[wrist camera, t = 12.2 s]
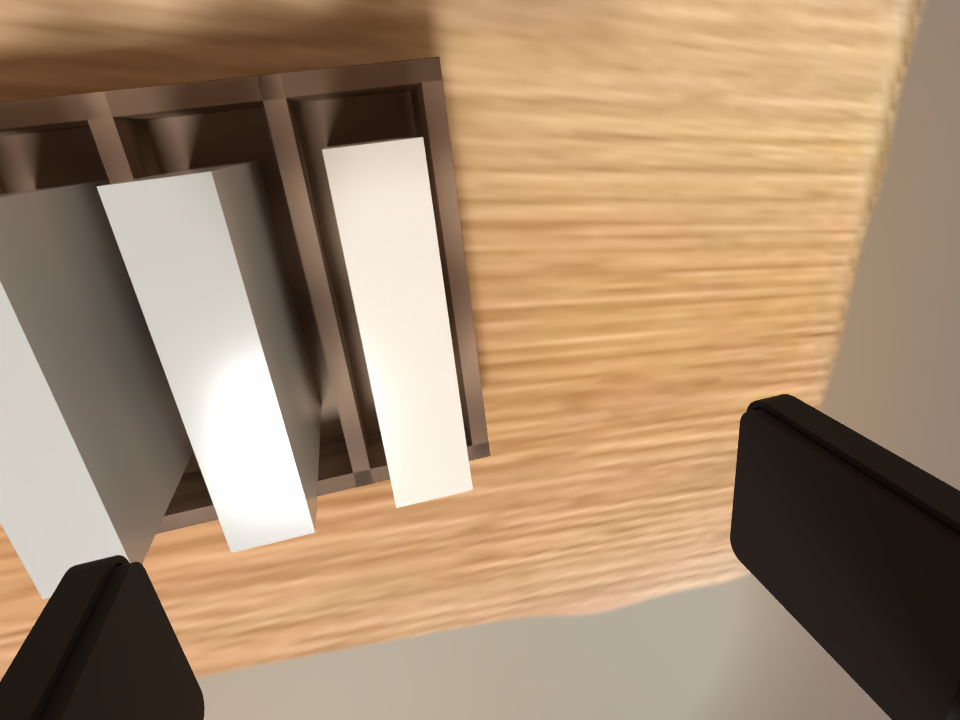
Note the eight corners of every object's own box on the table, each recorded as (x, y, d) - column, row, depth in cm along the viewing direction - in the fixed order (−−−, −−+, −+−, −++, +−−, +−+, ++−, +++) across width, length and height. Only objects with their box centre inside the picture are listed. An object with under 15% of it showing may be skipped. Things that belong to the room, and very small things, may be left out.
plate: (326, 146, 24) (321, 149, 15) (391, 138, 25) (423, 137, 16) (377, 393, 29) (396, 508, 20) (430, 382, 29) (472, 489, 20)
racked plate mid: (188, 169, 23) (96, 186, 14) (258, 160, 24) (211, 171, 15) (264, 419, 28) (231, 553, 19) (321, 408, 29) (315, 532, 19)
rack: (-36, 119, 22) (-122, 114, 18) (422, 70, 25) (439, 56, 21) (126, 490, 29) (91, 548, 25) (470, 415, 32) (490, 455, 28)
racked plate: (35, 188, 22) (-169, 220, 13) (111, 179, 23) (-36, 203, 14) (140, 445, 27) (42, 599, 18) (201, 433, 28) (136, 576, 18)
